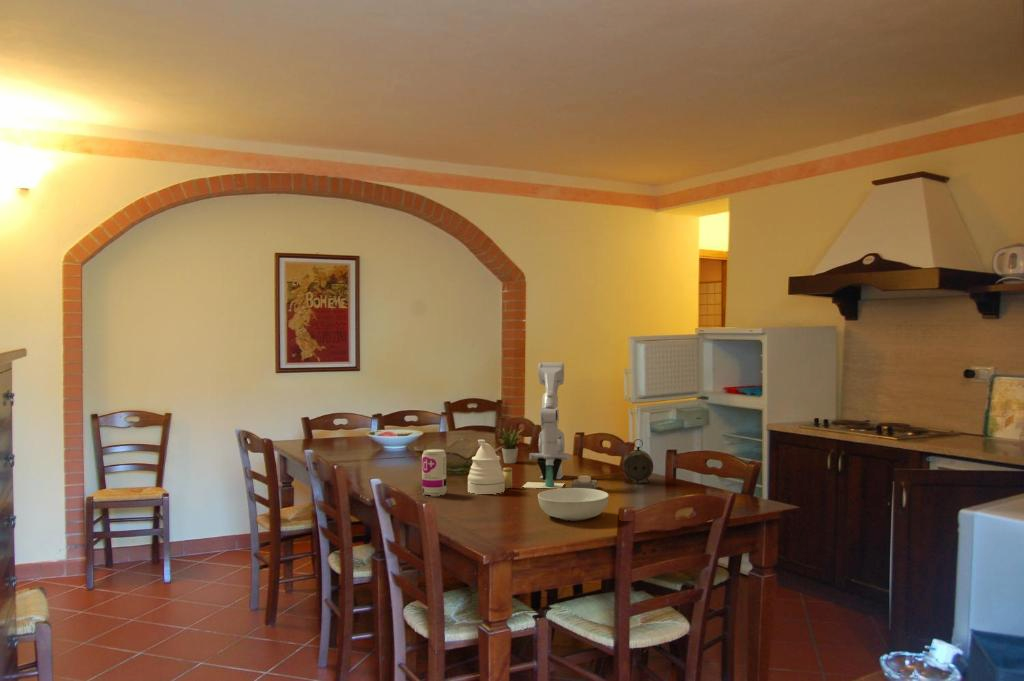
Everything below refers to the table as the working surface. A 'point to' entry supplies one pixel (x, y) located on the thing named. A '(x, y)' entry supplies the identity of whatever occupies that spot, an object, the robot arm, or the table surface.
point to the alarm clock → (638, 465)
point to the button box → (585, 484)
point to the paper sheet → (542, 485)
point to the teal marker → (549, 475)
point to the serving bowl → (573, 503)
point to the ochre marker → (507, 477)
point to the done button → (584, 479)
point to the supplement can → (434, 472)
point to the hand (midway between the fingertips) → (549, 479)
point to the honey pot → (486, 472)
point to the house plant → (509, 446)
